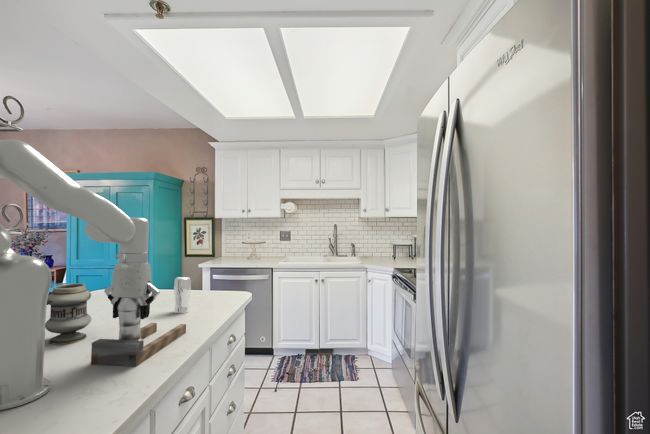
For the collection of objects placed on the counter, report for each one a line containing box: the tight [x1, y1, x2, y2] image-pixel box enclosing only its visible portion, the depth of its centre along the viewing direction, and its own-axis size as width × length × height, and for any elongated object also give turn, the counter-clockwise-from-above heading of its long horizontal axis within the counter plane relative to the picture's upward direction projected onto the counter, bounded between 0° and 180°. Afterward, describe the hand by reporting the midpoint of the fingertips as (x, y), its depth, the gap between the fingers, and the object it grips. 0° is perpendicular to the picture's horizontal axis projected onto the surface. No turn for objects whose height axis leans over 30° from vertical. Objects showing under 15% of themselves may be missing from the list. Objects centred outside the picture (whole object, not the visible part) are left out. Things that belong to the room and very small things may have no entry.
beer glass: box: [173, 276, 192, 315], centre depth 143 cm, size 7×7×15 cm
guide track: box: [90, 322, 187, 367], centre depth 102 cm, size 28×13×6 cm, turn 177°
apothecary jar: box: [45, 282, 92, 346], centre depth 107 cm, size 12×12×18 cm
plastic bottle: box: [117, 298, 143, 341], centre depth 95 cm, size 6×7×20 cm
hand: (131, 317), depth 95 cm, fingers open, 7 cm apart
